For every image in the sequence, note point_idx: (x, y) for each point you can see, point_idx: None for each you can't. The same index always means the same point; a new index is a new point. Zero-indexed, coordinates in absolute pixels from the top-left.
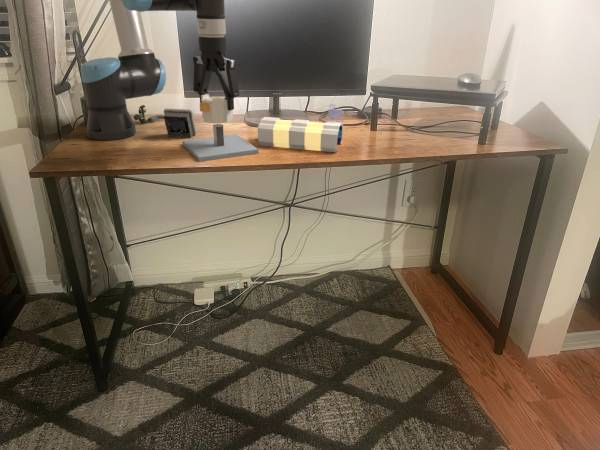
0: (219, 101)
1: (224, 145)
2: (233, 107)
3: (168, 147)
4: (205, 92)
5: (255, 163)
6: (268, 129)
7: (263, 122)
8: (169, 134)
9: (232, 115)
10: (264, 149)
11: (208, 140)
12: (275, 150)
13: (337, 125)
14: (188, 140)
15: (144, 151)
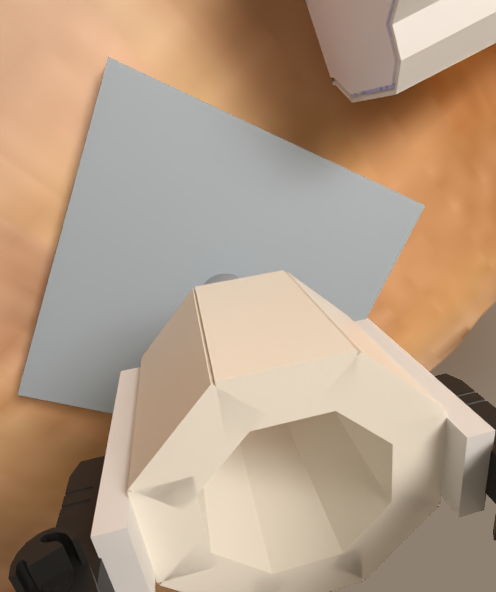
0: (404, 520)
1: None
2: (464, 389)
3: (28, 448)
4: (99, 585)
5: (472, 304)
6: (469, 54)
7: (421, 1)
8: None
9: (388, 339)
10: (403, 131)
11: (112, 292)
12: (458, 101)
13: None
14: (36, 370)
15: (19, 535)
